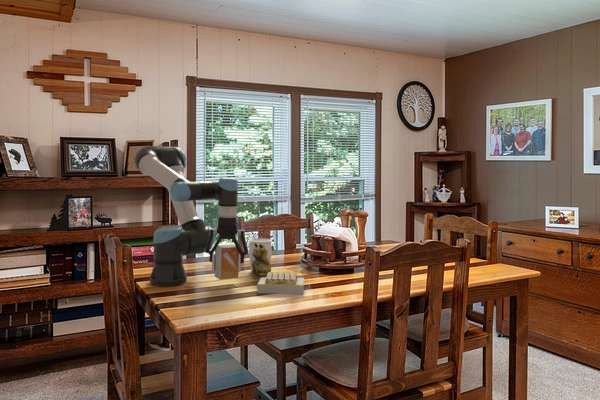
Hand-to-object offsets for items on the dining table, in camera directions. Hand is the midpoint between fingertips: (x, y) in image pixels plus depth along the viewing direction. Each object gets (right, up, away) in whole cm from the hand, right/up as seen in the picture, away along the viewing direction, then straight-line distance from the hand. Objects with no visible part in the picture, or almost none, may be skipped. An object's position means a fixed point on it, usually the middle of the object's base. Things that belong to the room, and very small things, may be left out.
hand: (226, 270), depth 203 cm
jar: (+11, -5, +30) cm, 32 cm away
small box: (0, -3, 0) cm, 3 cm away
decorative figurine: (+13, -6, +20) cm, 24 cm away
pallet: (+22, -4, -2) cm, 23 cm away
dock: (+22, -7, -2) cm, 24 cm away
